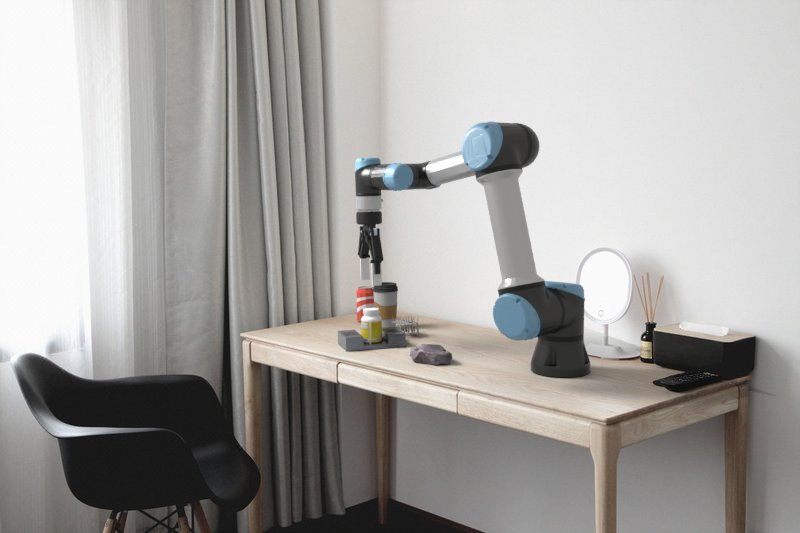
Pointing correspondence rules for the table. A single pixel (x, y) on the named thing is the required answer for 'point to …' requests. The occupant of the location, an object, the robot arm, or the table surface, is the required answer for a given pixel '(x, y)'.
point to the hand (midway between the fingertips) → (370, 282)
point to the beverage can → (364, 300)
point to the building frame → (407, 325)
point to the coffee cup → (386, 302)
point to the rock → (431, 354)
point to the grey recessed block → (354, 342)
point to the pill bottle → (371, 326)
